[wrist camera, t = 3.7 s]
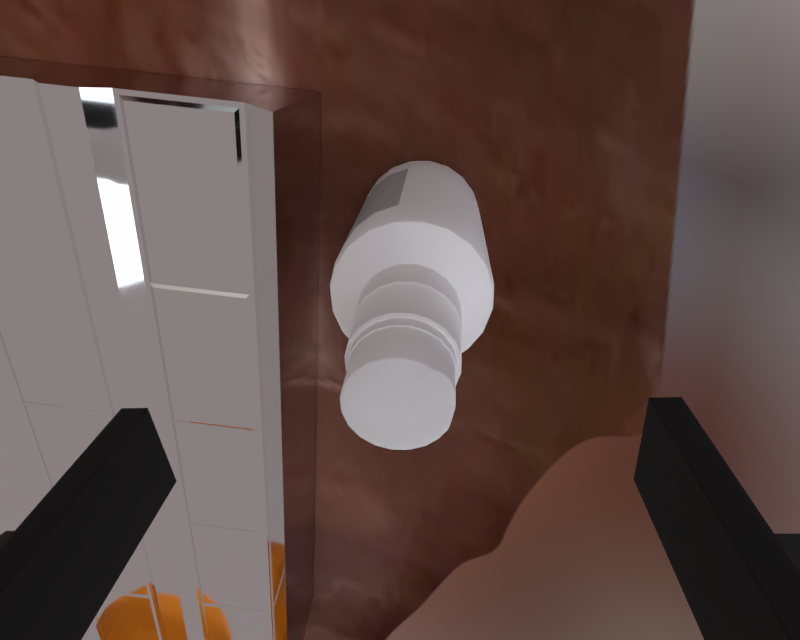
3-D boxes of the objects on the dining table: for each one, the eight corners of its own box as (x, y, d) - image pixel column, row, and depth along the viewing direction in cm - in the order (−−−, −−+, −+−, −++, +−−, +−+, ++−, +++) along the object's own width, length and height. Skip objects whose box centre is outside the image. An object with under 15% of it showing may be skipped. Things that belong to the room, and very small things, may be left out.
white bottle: (352, 170, 29) (249, 320, 14) (470, 148, 28) (504, 284, 13) (377, 277, 33) (317, 499, 17) (485, 261, 32) (526, 482, 16)
